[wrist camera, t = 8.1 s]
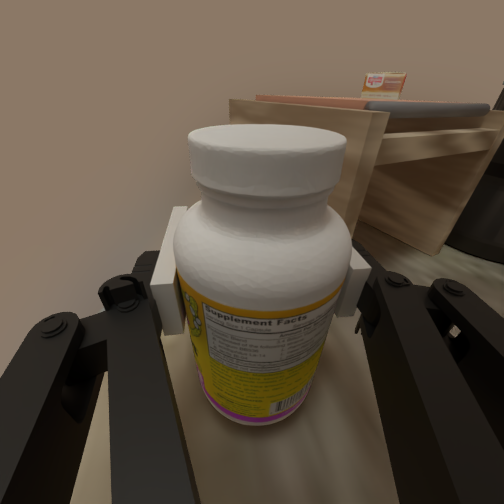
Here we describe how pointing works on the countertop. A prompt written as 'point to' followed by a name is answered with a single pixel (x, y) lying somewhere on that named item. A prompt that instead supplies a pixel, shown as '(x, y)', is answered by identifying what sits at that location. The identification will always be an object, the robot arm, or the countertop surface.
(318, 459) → the countertop surface
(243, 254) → the supplement bottle
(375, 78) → the coffeecake box
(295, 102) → the trapdoor
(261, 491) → the countertop surface
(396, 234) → the stand
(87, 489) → the countertop surface
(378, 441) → the countertop surface
